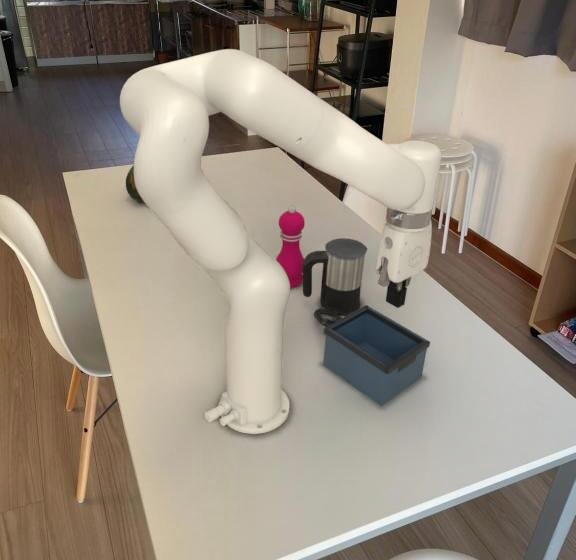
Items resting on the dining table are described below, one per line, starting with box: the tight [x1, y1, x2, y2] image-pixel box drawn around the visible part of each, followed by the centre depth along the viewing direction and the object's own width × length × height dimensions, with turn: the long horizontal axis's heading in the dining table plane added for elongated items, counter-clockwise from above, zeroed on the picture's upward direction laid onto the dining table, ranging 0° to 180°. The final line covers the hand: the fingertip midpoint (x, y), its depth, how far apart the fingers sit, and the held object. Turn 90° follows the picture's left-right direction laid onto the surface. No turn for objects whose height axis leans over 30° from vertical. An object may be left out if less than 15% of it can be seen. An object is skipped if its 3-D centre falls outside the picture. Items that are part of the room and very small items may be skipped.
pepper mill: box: [275, 205, 306, 289], centre depth 136 cm, size 7×7×20 cm
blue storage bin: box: [322, 304, 431, 406], centre depth 111 cm, size 9×16×12 cm
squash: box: [125, 164, 145, 203], centre depth 177 cm, size 14×15×15 cm
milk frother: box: [302, 237, 368, 328], centre depth 126 cm, size 14×16×15 cm
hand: (394, 303), depth 109 cm, fingers closed
